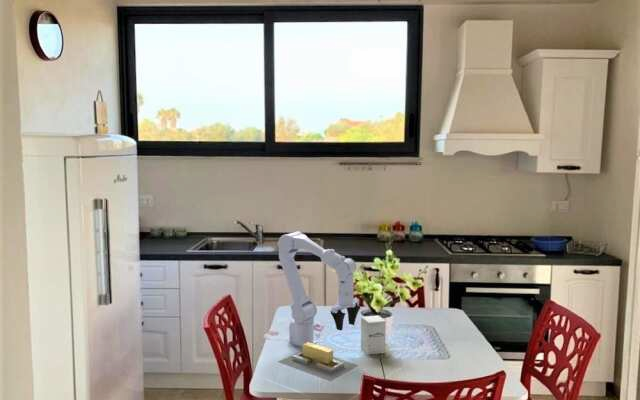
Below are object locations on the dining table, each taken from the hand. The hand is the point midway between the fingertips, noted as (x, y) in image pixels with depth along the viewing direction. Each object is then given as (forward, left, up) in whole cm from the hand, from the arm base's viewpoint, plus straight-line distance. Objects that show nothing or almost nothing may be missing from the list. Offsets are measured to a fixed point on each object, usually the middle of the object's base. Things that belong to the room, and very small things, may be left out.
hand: (345, 326), depth 193 cm
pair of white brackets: (-1, -15, -10) cm, 18 cm away
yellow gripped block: (-1, -15, -10) cm, 18 cm away
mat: (-1, -15, -10) cm, 18 cm away
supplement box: (+7, +8, -10) cm, 15 cm away
